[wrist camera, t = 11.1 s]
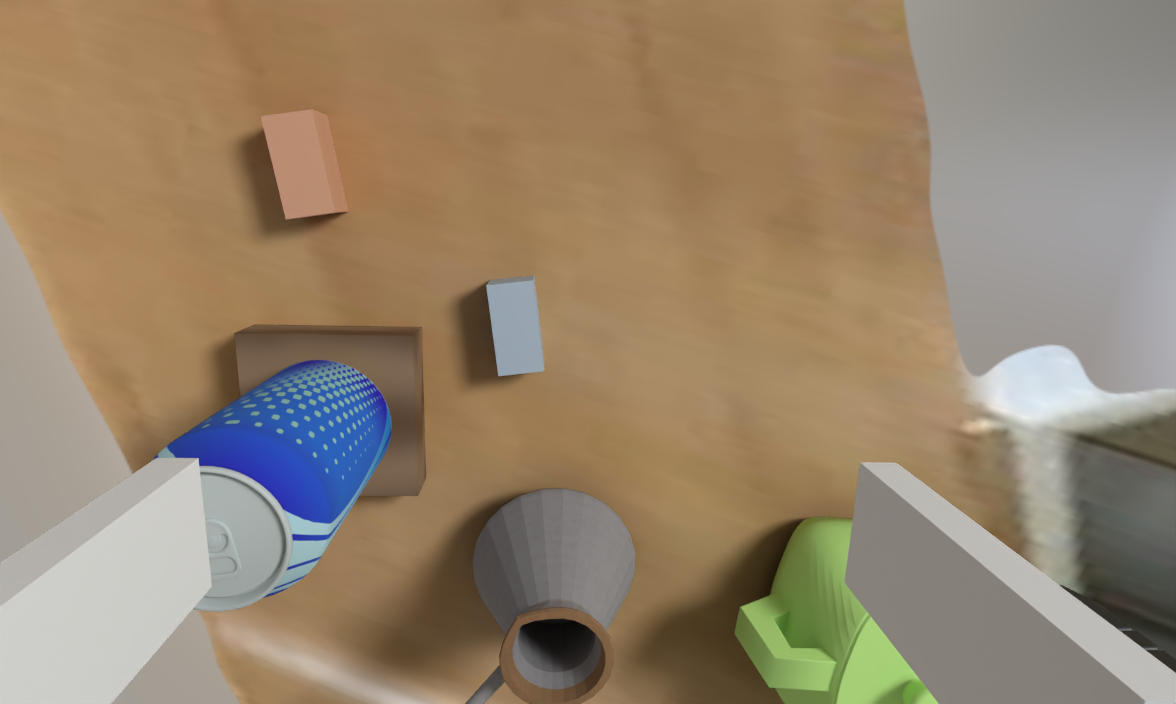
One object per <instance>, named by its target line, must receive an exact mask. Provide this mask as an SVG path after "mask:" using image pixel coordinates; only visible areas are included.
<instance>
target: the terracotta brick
mask: <svg viewBox="0 0 1176 704" xmlns="http://www.w3.org/2000/svg"><path fill="white" fill-rule="evenodd" d="M261 119H262V124H263V128H264V132H265V136H266V140H267V144H268V148H269V152H270V157H271V161H272V165H273V169H274V173H275V177H276V181H277V185H278V190H279V194H280V198H281V202H282V206H283V210H284V214H285V218H286V219H298V218H307V217H314V216H321V215H328V214H335V213H342V212H348V208H347V203H346V199H345V194H344V190H343V185H342V181H341V176H340V172H339V167H338V163H337V158H336V153H335V149H334V144H333V140H332V135H331V131H330V126H329V122H328V117H327V115H325V114H323V113H320V112H318V111H315V110H312V109H311V110H303V111H296V112H289V113H282V114H274V115H267V116H261Z"/></svg>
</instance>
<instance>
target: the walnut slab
mask: <svg viewBox="0 0 1176 704" xmlns="http://www.w3.org/2000/svg"><path fill="white" fill-rule="evenodd" d="M234 336H235V347H236V357H237V368H238V379H239V389H240V397H242V396H243V395H245V394H246V393H248V392H249V391H251V390H252V389H254V388H255V387H257V386H258V385H260V384H261V383H263V382H264V381H266V380H268V379H269V378H271V377H272V376H274V375H275V374H277V373H278V372H280V371H281V370H283V369H285V368H287V367H289V366H291V365H293V364H296V363H299V362H304V361H310V360H328V361H334V362H338V363H342V364H345V365H347V366H350V367H352V368H354V369H356V370H357V371H359V372H361V373H362V374H363V375H365V376H366V377H367V378H368V379H370V380H371V381H372V382H373V383H374V384H375V386H376V387H377V388H378V389H379V391H380V392H381V394H382V395H383V397H384V399H385V401H386V403H387V406H388V408H389V412H390V416H391V425H392V427H391V438H390V442H389V446H388V449H387V451H386V453H385V455H384V457H383V458H382V460H381V461H380V463H379V465H378V466H377V468H376V470H375V471H374V473H373V474H372V476H371V478H370V479H369V481H368V482H367V484H366V486H365V487H364V489H363V490H362V492H361V494H360V495H359V496H418V495H419V493H420V490H421V488H422V486H423V483H424V481H425V479H426V463H425V429H424V395H423V361H422V327H379V326H311V325H253V326H250V327H248V328H246V329H244V330H241V331H239V332H237V333H234Z"/></svg>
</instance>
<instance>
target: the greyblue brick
mask: <svg viewBox="0 0 1176 704" xmlns="http://www.w3.org/2000/svg"><path fill="white" fill-rule="evenodd" d="M486 287H487V295H488V302H489V310H490V317H491V325H492V332H493V340H494V347H495V354H496V362H497V369H498V376H505V375H514V374H523V373H532V372H541V371H544V355H543V346H542V338H541V329H540V321H539V312H538V304H537V295H536V287H535V278H534V276H525V277H516V278H506V279H497V280H490V281H489V282H488V284H487V285H486Z"/></svg>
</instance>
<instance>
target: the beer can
mask: <svg viewBox="0 0 1176 704" xmlns="http://www.w3.org/2000/svg"><path fill="white" fill-rule="evenodd" d="M391 427H392V425H391V416H390V412H389V408H388V406H387V403H386V401H385V399H384V397H383V395H382V394H381V392H380V391H379V389H378V388H377V387H376V386H375V384H374V383H373V382H372V381H371V380H370V379H368V378H367V377H366V376H365V375H363V374H362V373H361V372H359V371H357V370H356V369H354V368H352V367H350V366H347V365H345V364H342V363H338V362H334V361H328V360H310V361H304V362H299V363H296V364H293V365H291V366H289V367H287V368H285V369H283V370H281V371H280V372H278V373H277V374H275V375H274V376H272V377H271V378H269V379H268V380H266V381H264V382H263V383H261V384H260V385H258V386H257V387H255V388H254V389H252V390H251V391H249V392H248V393H246V394H245V395H243V396H242V397H240V398H238V399H237V400H235V401H234V402H232V403H231V404H229V405H228V406H226V407H225V408H223V409H222V410H220V411H219V412H217V413H216V414H214V415H212V416H211V417H209V418H208V419H206V420H205V421H203V422H202V423H200V424H199V425H197V426H196V427H194V428H193V429H191V430H190V431H188V432H186V433H185V434H183V435H182V436H180V437H179V438H177V439H176V440H174V441H173V442H171V443H170V444H169V445H167V446H166V447H165V448H164V449H163V450H162V451H160V452H159V453H158V454H157V456H156V457H155V458H154V459H156V458H198V459H199V468H200V478H201V487H202V497H203V506H204V516H205V525H206V535H207V544H208V554H209V563H210V573H211V582H212V587H211V588H210V589H209V591H208V592H207V593H206V594H205V595H204V596H203V598H202V599H201V600H200V601H199V602H198V603H197V604H196V606H195V607H194V608H193V609H196V610H201V611H212V612H219V611H230V610H235V609H239V608H242V607H245V606H248V605H250V604H253V603H255V602H256V601H258V600H260V599H262V598H264V597H268V596H271V595H274V594H276V593H279V592H281V591H283V590H285V589H287V588H289V587H291V586H293V585H294V584H296V583H297V582H298V581H300V580H301V579H302V578H303V577H305V576H306V575H307V574H308V573H309V572H310V571H311V570H312V569H313V567H314V566H315V565H316V564H317V562H318V561H319V559H320V558H321V556H322V555H323V553H324V551H325V550H326V548H327V547H328V545H329V543H330V542H331V540H332V539H333V537H334V535H335V534H336V532H337V531H338V529H339V527H340V526H341V524H342V523H343V521H344V519H345V518H346V516H347V514H348V513H349V511H350V510H351V508H352V506H353V505H354V503H355V502H356V500H357V498H358V497H359V495H360V494H361V492H362V490H363V489H364V487H365V486H366V484H367V482H368V481H369V479H370V478H371V476H372V474H373V473H374V471H375V470H376V468H377V466H378V465H379V463H380V461H381V460H382V458H383V457H384V455H385V453H386V451H387V449H388V446H389V442H390V438H391ZM154 459H153V460H154ZM153 460H152V461H153Z"/></svg>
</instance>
